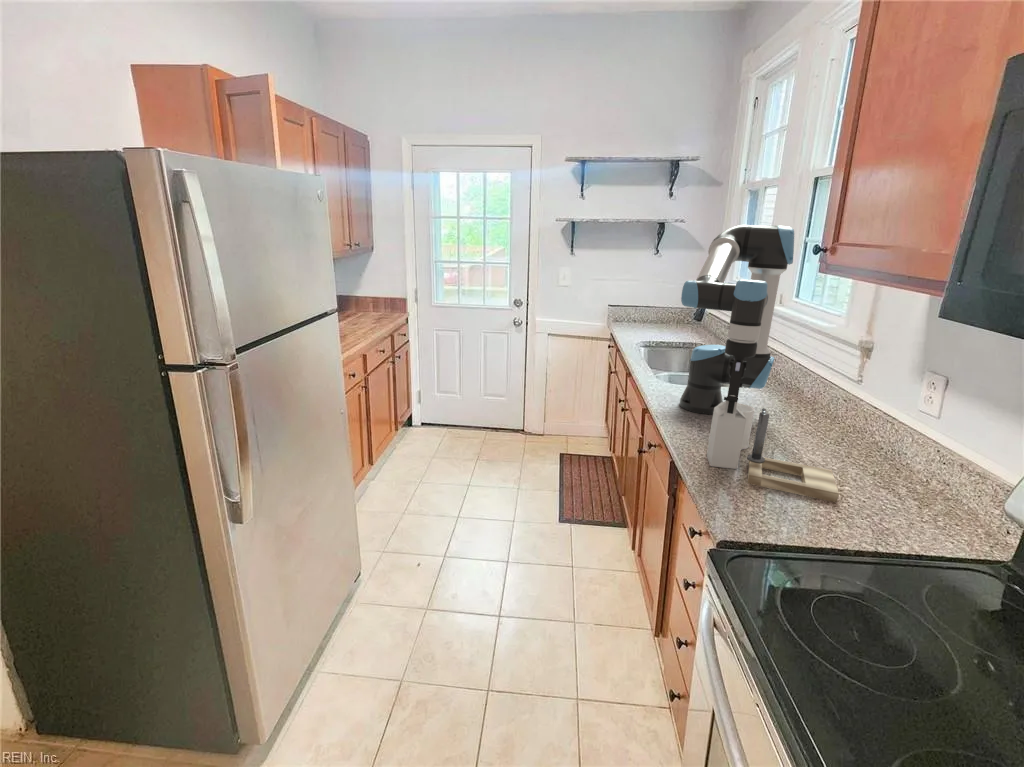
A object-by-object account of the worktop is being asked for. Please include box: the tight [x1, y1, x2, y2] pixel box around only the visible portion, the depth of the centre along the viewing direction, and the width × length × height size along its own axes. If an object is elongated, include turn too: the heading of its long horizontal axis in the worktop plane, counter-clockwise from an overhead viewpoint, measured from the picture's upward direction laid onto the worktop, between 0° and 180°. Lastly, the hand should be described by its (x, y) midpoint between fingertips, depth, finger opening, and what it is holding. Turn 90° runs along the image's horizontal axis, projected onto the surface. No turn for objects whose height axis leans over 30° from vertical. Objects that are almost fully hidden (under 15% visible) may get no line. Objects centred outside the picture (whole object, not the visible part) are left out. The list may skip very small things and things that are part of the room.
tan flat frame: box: [747, 456, 840, 503], centre depth 134 cm, size 14×20×2 cm
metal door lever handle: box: [746, 407, 770, 463], centre depth 140 cm, size 7×4×16 cm, turn 155°
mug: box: [737, 402, 756, 450], centre depth 156 cm, size 12×8×12 cm
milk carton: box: [706, 400, 746, 470], centre depth 141 cm, size 7×7×19 cm
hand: (729, 416), depth 139 cm, fingers open, 13 cm apart
